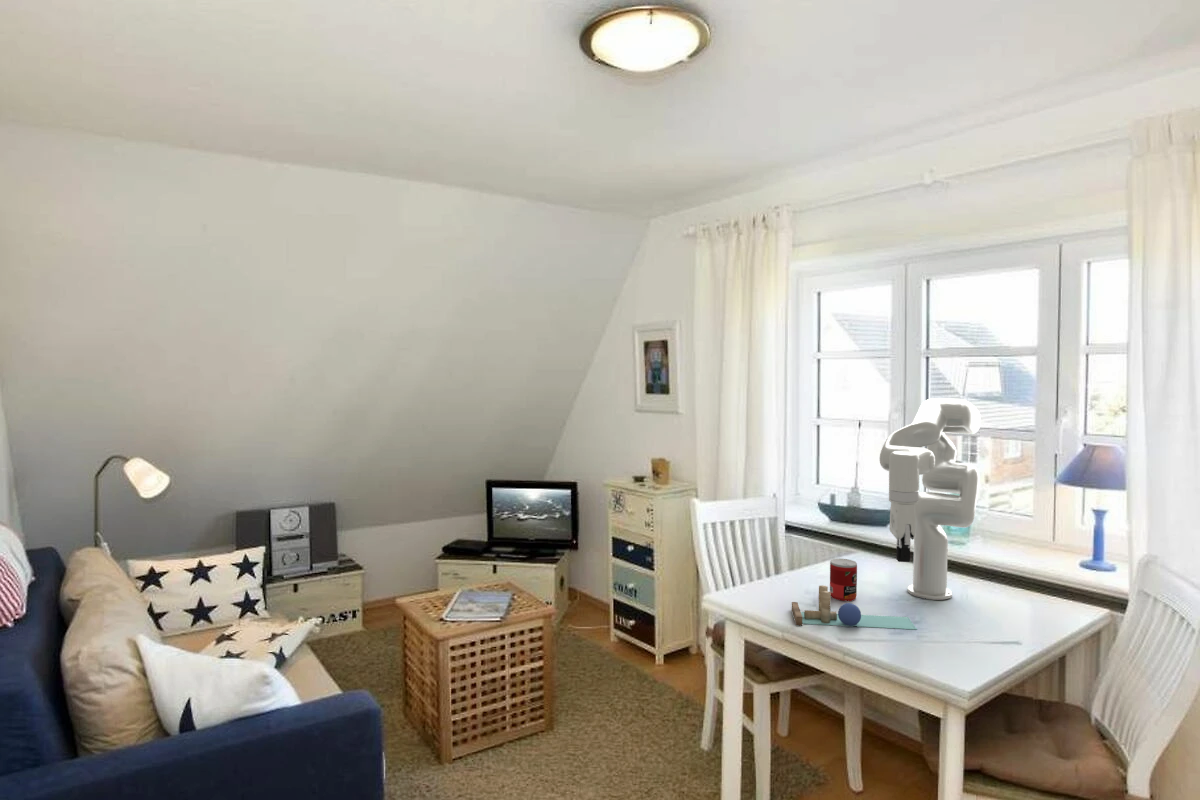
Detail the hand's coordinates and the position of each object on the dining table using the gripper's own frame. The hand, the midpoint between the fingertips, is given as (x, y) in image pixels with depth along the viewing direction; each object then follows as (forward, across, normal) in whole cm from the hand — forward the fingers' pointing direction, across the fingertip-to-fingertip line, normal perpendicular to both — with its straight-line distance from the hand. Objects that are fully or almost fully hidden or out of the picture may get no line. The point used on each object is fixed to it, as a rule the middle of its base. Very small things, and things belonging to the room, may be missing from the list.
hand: (903, 560), depth 199 cm
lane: (+17, +3, -13) cm, 21 cm away
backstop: (+16, +3, -29) cm, 33 cm away
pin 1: (+17, 0, -22) cm, 27 cm away
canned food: (+18, -17, -13) cm, 28 cm away
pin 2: (+16, +5, -21) cm, 27 cm away
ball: (+13, +6, -15) cm, 21 cm away
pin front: (+15, +3, -18) cm, 24 cm away
